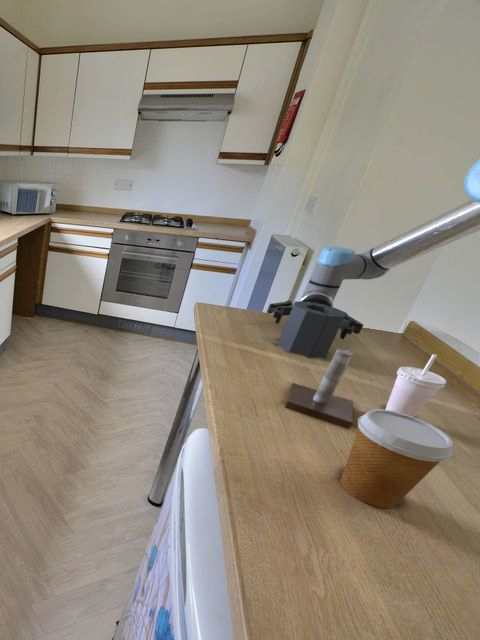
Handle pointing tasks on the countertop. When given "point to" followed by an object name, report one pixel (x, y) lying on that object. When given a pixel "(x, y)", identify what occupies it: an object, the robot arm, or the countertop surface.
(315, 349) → the grey hollow prism
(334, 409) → the towel holder
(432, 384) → the smoothie
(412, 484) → the disposable coffee cup
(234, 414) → the countertop surface
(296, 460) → the countertop surface
